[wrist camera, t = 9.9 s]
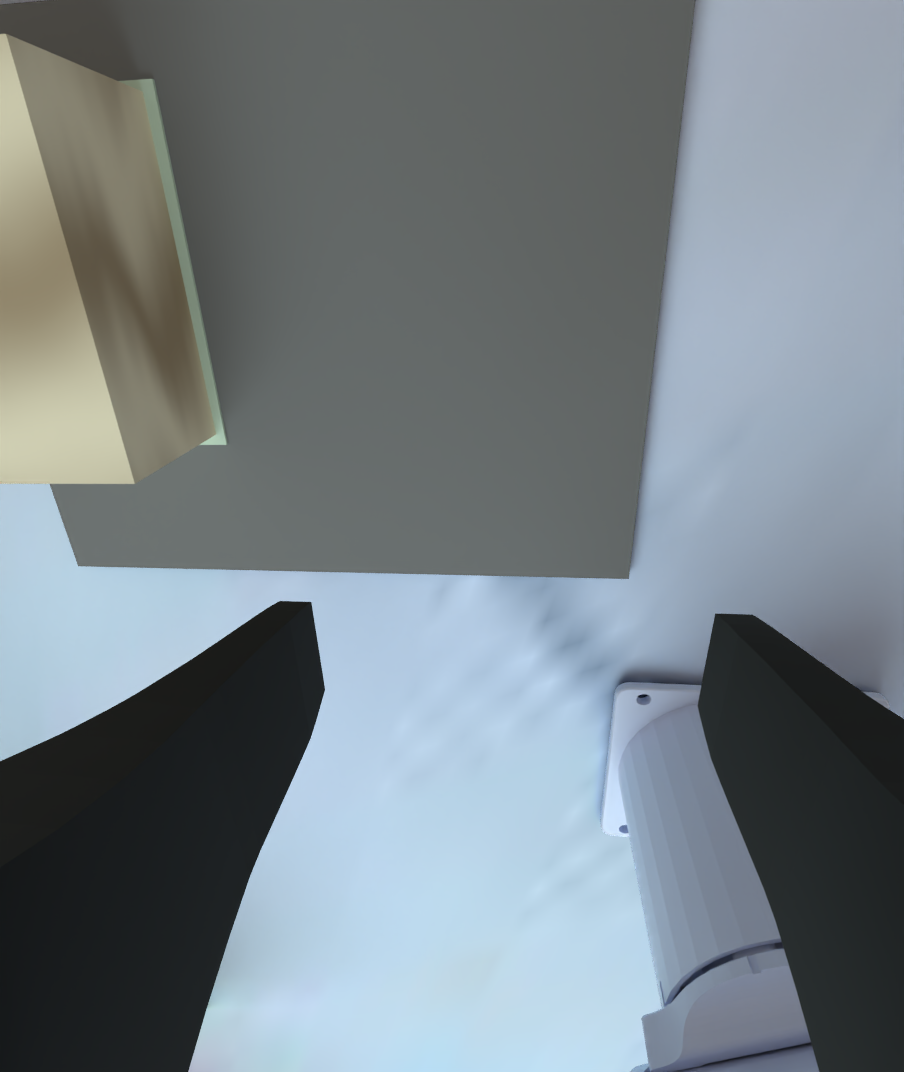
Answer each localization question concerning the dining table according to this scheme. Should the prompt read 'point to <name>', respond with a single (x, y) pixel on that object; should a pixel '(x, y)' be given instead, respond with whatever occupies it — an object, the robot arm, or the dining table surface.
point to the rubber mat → (399, 276)
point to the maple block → (88, 284)
